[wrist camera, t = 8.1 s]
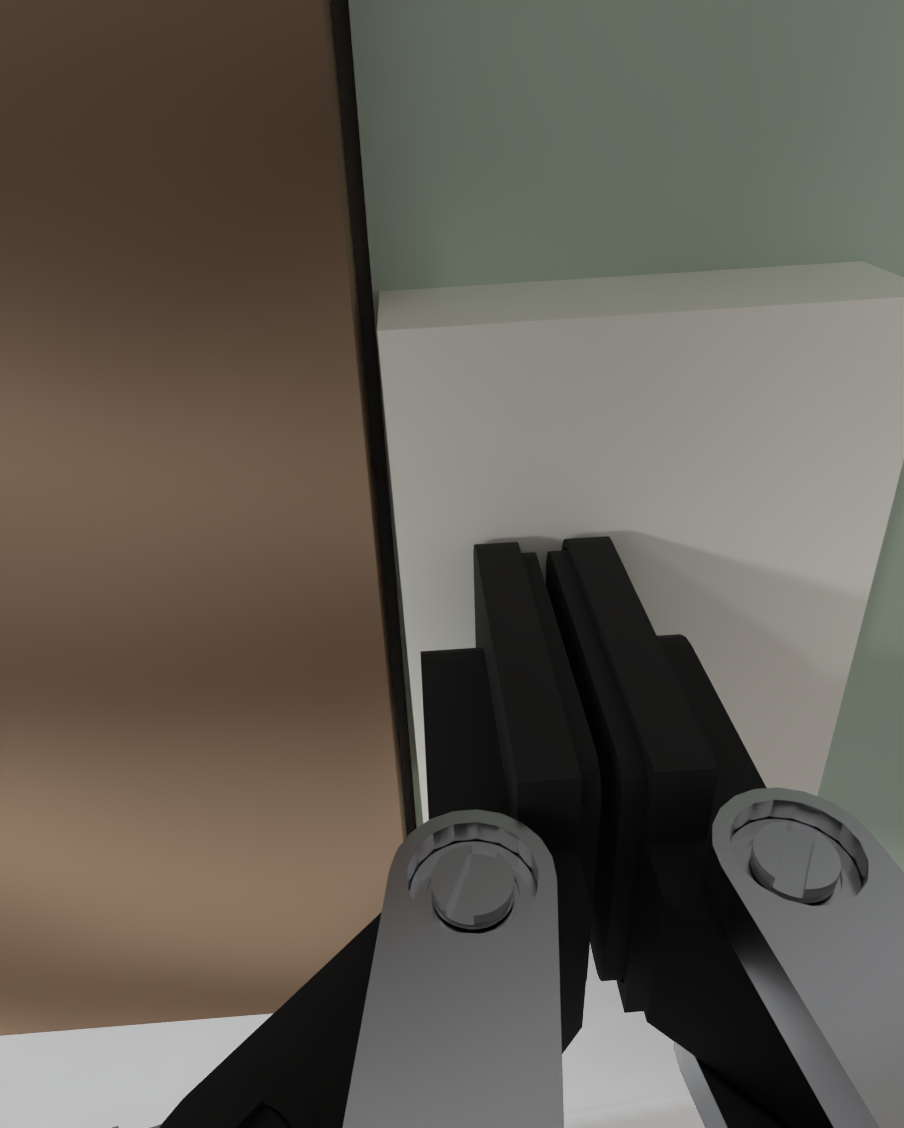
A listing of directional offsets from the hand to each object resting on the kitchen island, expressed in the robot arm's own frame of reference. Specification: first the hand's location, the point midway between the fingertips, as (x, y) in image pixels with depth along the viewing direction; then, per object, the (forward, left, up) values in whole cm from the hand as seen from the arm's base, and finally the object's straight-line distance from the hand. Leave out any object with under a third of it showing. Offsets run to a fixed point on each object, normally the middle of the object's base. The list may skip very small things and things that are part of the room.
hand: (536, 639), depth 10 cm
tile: (0, +1, -1) cm, 2 cm away
